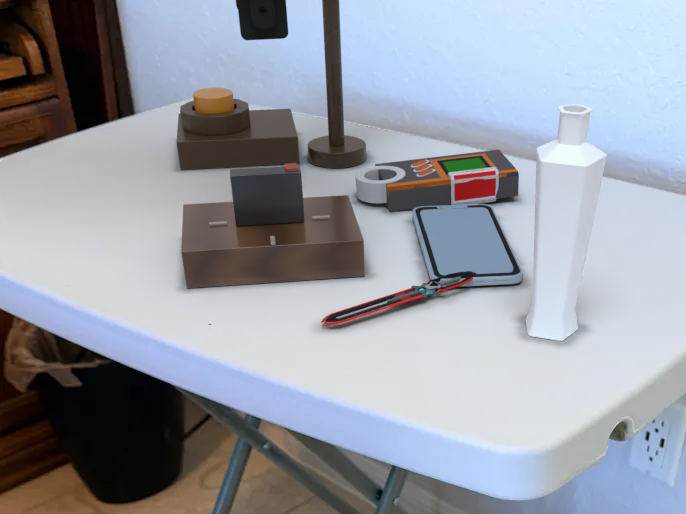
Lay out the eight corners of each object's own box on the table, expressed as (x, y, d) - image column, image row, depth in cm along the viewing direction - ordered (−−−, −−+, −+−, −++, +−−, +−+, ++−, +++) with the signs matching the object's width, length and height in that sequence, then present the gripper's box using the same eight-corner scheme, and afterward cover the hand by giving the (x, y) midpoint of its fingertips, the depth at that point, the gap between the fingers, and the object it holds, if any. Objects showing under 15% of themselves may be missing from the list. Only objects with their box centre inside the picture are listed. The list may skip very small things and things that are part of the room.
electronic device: (350, 163, 88) (502, 145, 90) (352, 194, 90) (501, 176, 92) (362, 187, 83) (523, 168, 85) (364, 220, 85) (522, 200, 86)
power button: (195, 117, 93) (192, 99, 92) (195, 106, 96) (192, 88, 95) (235, 115, 94) (233, 97, 93) (234, 104, 97) (232, 86, 96)
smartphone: (432, 280, 72) (410, 206, 83) (432, 290, 72) (410, 215, 84) (526, 275, 72) (491, 203, 84) (525, 285, 73) (491, 212, 84)
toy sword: (314, 321, 68) (314, 313, 67) (467, 272, 73) (468, 264, 73) (328, 333, 66) (327, 324, 66) (482, 282, 72) (483, 274, 72)
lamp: (302, 173, 93) (279, -158, 76) (295, 148, 99) (274, -164, 82) (381, 169, 94) (376, -159, 77) (370, 144, 100) (364, -164, 83)
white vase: (504, 325, 68) (521, 106, 58) (549, 309, 70) (573, 95, 60) (546, 349, 65) (571, 124, 55) (592, 332, 67) (624, 112, 57)
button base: (180, 170, 93) (173, 123, 90) (182, 139, 101) (175, 95, 98) (299, 163, 95) (296, 117, 92) (292, 134, 102) (289, 90, 99)
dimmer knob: (235, 226, 74) (229, 172, 71) (235, 219, 75) (229, 165, 72) (304, 222, 75) (301, 168, 72) (303, 215, 76) (299, 162, 73)
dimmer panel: (186, 288, 72) (180, 249, 70) (188, 238, 80) (182, 202, 78) (364, 276, 74) (363, 238, 72) (349, 229, 82) (348, 193, 80)
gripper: (170, -290, 62) (207, 2, 73) (163, -305, 49) (209, 54, 60) (283, -290, 63) (303, -2, 74) (305, -305, 50) (325, 48, 61)
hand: (261, 23), depth 67 cm, fingers open, 9 cm apart
